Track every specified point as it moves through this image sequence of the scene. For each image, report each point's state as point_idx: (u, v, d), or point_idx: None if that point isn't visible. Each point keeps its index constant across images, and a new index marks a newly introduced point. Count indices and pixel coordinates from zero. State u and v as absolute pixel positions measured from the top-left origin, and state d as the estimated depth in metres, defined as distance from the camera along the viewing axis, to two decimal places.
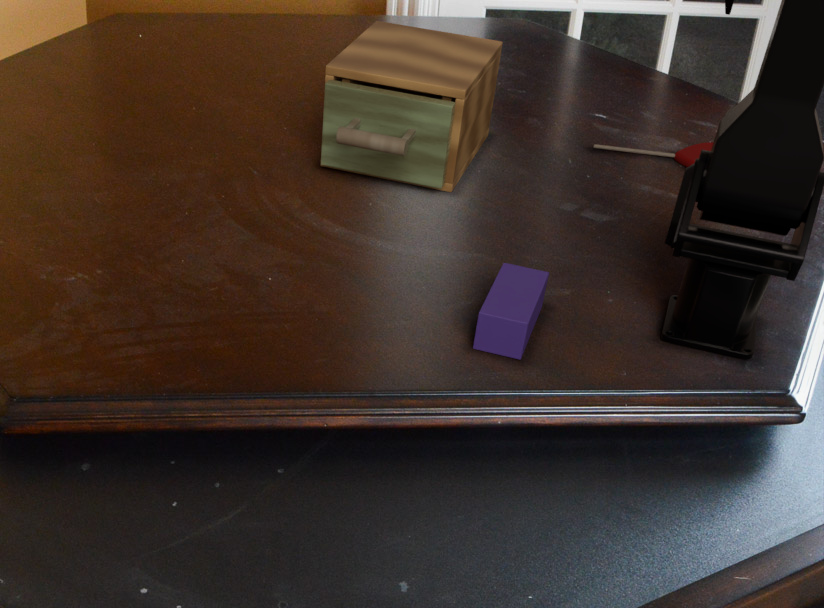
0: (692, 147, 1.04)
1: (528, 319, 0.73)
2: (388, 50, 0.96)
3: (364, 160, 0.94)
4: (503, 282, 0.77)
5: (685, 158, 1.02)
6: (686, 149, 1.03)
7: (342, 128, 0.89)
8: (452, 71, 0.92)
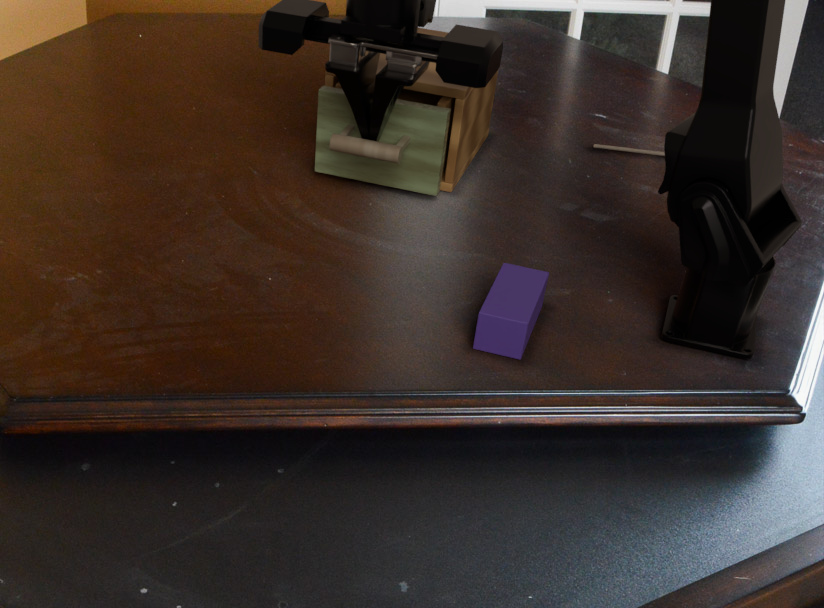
0: None
1: (528, 319, 0.73)
2: None
3: (358, 167, 0.93)
4: (503, 282, 0.77)
5: None
6: None
7: (335, 135, 0.88)
8: None
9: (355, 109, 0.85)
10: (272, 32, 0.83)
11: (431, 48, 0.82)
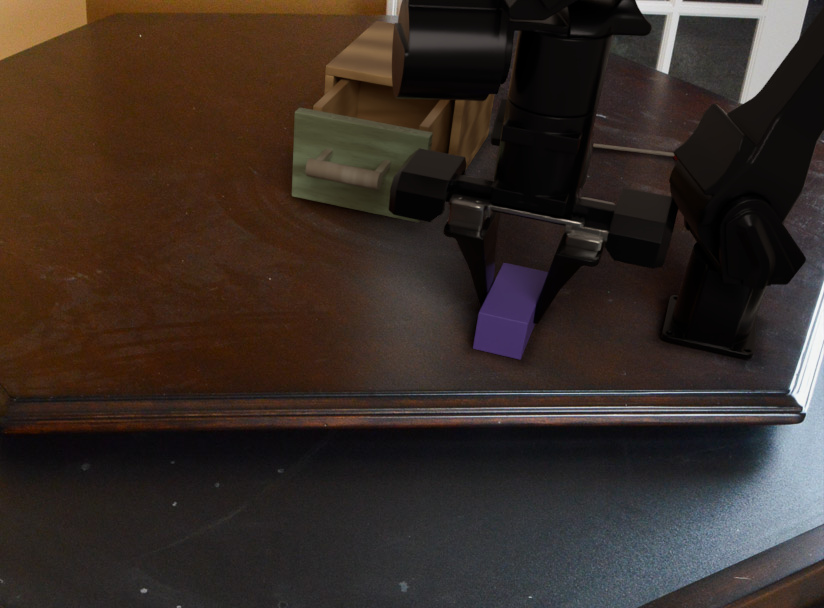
0: None
1: (528, 319, 0.73)
2: (388, 50, 0.96)
3: (337, 192, 0.89)
4: (503, 282, 0.77)
5: None
6: None
7: (312, 160, 0.83)
8: None
9: (475, 274, 0.74)
10: (407, 197, 0.71)
11: (570, 212, 0.70)
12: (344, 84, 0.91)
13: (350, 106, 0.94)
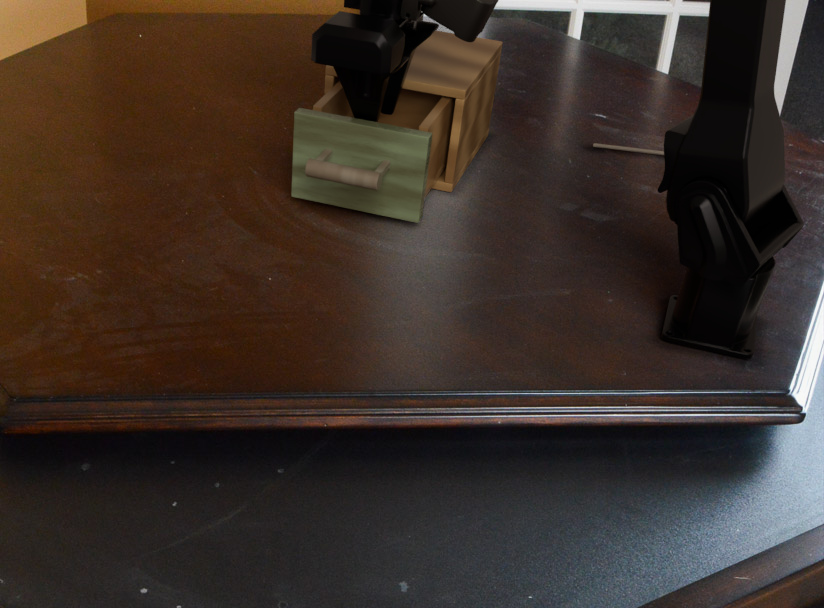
0: None
1: None
2: None
3: (337, 192, 0.88)
4: None
5: None
6: None
7: (311, 160, 0.83)
8: (452, 71, 0.92)
9: None
10: None
11: None
12: None
13: None
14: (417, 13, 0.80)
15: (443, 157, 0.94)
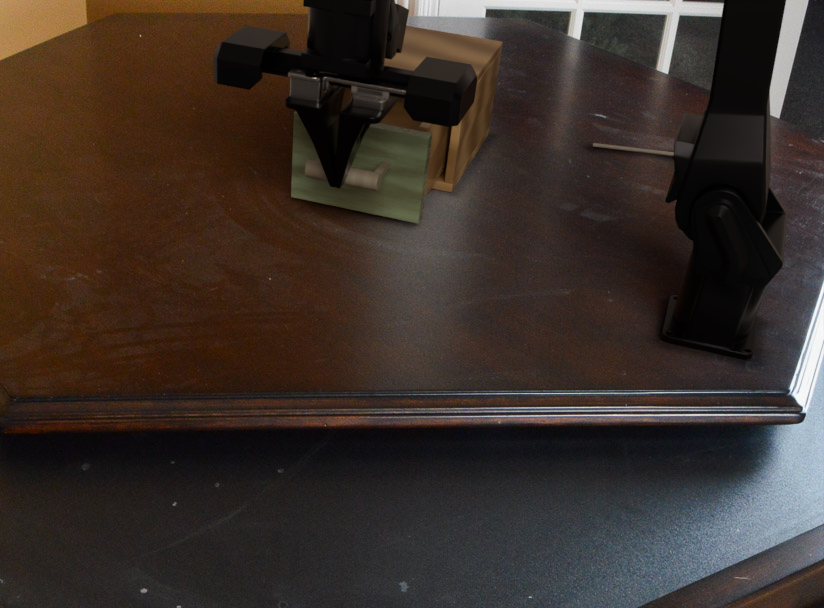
0: None
1: None
2: None
3: (336, 193, 0.88)
4: None
5: None
6: None
7: (311, 161, 0.83)
8: None
9: (318, 147, 0.79)
10: (227, 65, 0.76)
11: (399, 82, 0.75)
12: None
13: None
14: None
15: (443, 157, 0.94)
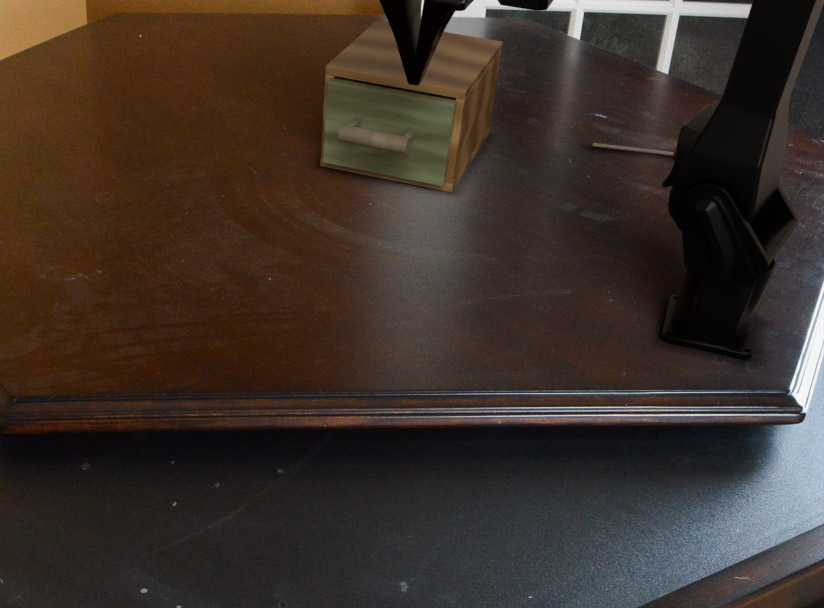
0: None
1: None
2: (388, 50, 0.96)
3: (366, 158, 0.94)
4: None
5: None
6: None
7: (344, 126, 0.89)
8: (452, 71, 0.92)
9: (399, 39, 0.78)
10: None
11: None
12: None
13: None
14: None
15: None
